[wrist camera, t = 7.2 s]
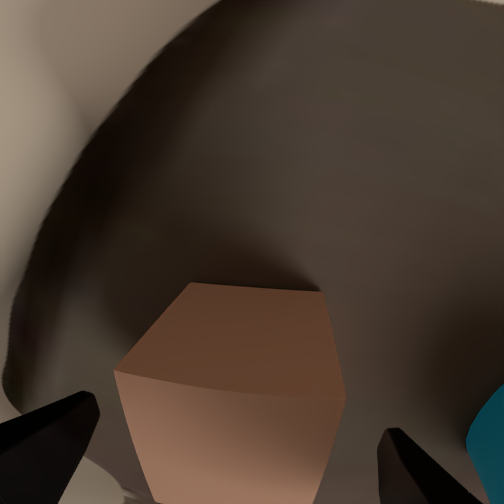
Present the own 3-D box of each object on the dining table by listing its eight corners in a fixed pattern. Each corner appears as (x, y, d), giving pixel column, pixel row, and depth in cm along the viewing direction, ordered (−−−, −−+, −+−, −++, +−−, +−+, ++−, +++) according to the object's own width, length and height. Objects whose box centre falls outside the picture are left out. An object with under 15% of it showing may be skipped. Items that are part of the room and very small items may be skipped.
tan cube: (304, 413, 13) (304, 523, 7) (197, 402, 13) (155, 502, 8) (323, 291, 11) (346, 398, 6) (190, 282, 12) (113, 370, 6)
